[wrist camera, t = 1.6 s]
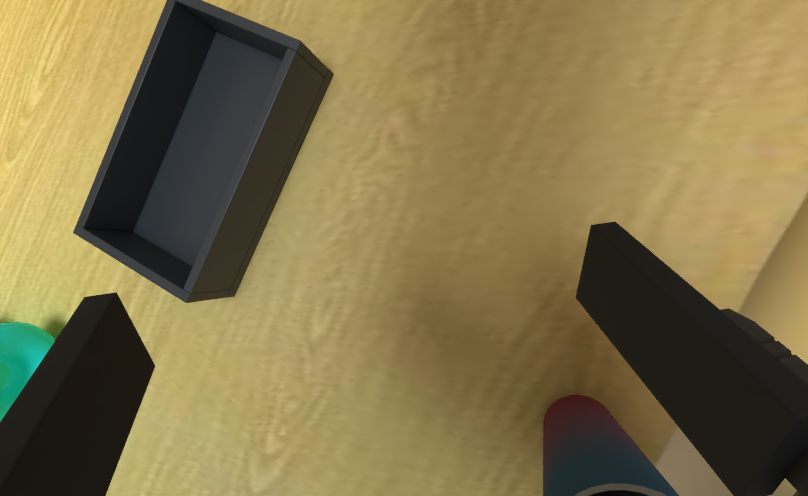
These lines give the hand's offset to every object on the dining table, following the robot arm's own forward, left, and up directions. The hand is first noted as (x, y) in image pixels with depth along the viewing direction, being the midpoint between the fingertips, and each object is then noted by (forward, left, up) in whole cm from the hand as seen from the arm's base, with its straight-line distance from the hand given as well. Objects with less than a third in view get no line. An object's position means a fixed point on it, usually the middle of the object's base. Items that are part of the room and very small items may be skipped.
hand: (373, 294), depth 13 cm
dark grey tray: (+1, -24, -23) cm, 33 cm away
